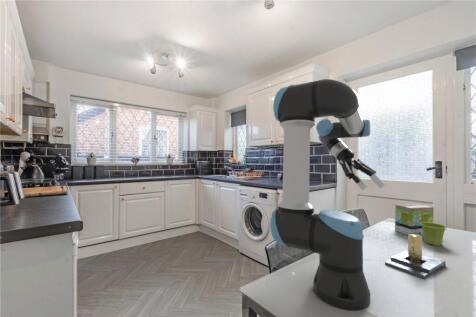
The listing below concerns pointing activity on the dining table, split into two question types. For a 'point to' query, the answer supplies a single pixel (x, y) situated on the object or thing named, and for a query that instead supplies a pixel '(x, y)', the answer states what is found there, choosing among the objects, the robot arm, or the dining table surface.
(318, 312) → the dining table surface
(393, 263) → the grey square-hole plate
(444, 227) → the plant pot
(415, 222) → the tea box
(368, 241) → the dining table surface
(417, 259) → the brass pin
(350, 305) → the robot arm
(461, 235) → the dining table surface
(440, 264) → the grey slotted plate
